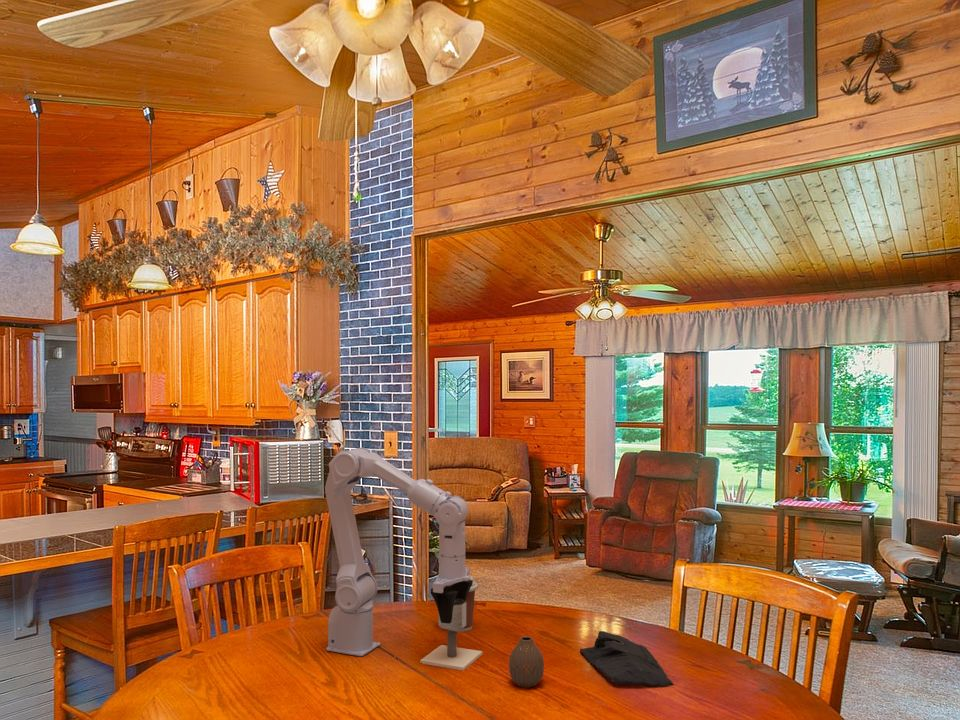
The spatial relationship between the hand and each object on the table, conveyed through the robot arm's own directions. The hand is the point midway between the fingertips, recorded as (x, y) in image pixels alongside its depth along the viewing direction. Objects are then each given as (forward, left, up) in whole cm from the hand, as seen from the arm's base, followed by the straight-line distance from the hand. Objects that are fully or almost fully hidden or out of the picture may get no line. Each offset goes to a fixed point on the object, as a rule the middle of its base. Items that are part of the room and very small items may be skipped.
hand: (452, 618), depth 156 cm
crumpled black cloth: (+35, +10, -9) cm, 38 cm away
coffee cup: (-7, +19, -9) cm, 22 cm away
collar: (0, 0, -2) cm, 2 cm away
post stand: (0, 0, -8) cm, 8 cm away
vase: (+19, -6, -9) cm, 22 cm away
